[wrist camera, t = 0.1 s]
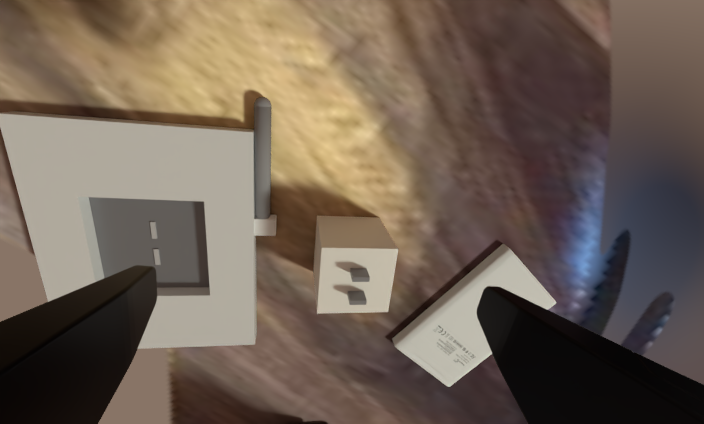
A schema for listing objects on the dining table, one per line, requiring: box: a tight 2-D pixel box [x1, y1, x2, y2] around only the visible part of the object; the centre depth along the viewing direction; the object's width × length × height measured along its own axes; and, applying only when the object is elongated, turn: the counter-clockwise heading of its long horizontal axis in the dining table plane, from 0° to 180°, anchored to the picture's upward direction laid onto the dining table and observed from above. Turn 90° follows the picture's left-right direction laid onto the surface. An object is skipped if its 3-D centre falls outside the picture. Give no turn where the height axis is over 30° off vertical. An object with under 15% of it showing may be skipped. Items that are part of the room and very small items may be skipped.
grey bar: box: [254, 97, 277, 236], centre depth 21 cm, size 9×2×1 cm, turn 174°
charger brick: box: [313, 216, 398, 313], centre depth 22 cm, size 5×5×6 cm
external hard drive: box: [392, 244, 556, 387], centre depth 29 cm, size 2×8×12 cm
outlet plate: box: [0, 111, 257, 349], centre depth 22 cm, size 16×13×1 cm
